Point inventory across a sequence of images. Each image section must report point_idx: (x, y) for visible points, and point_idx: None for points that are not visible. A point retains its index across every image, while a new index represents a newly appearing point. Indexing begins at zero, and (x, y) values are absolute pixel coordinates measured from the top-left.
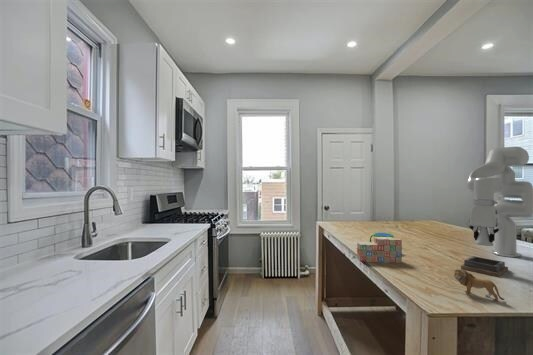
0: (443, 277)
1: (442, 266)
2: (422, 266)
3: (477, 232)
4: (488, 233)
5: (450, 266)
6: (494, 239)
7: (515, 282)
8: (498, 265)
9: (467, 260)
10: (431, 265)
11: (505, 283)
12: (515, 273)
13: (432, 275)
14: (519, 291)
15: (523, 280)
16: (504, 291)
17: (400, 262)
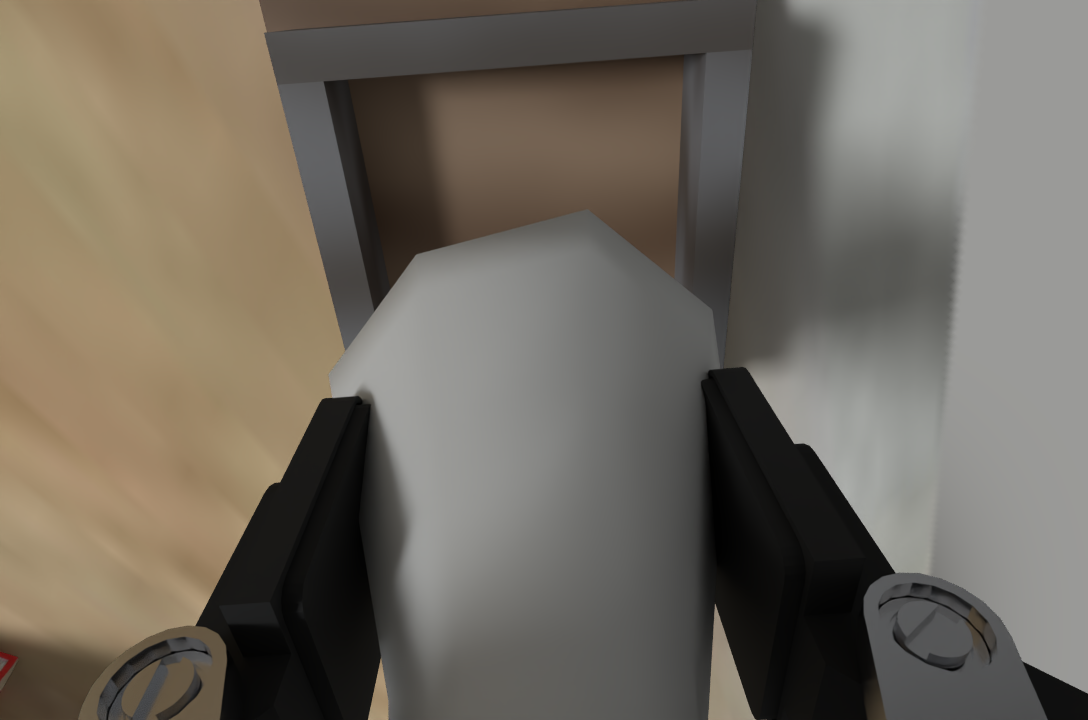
0: None
1: (237, 481)
2: (172, 612)
3: (343, 700)
4: (699, 639)
5: (269, 417)
6: (809, 464)
7: (852, 415)
8: (726, 328)
9: None
10: (171, 532)
11: None
12: (840, 38)
13: (382, 713)
14: None
15: (915, 288)
16: None
17: (12, 667)
